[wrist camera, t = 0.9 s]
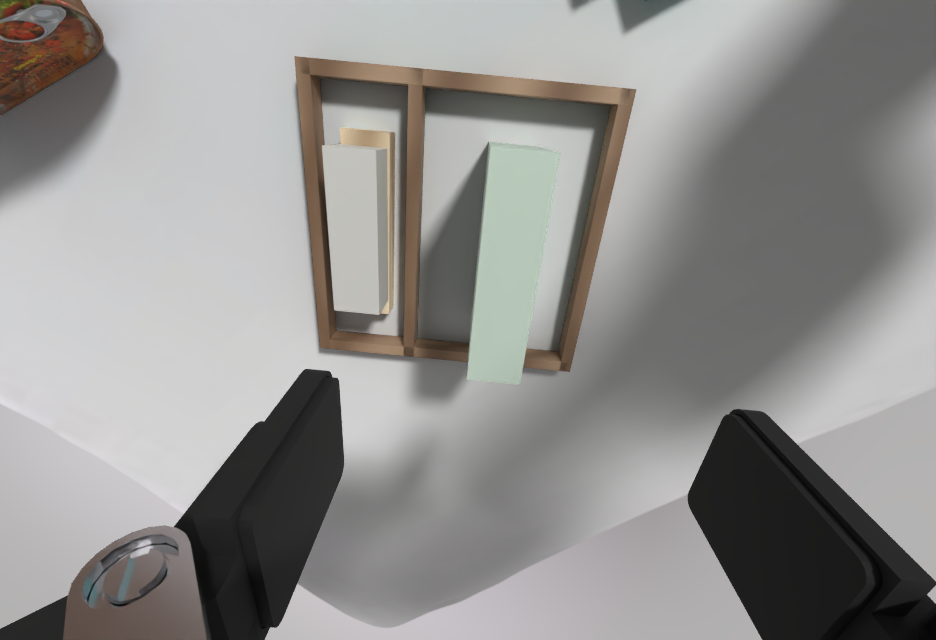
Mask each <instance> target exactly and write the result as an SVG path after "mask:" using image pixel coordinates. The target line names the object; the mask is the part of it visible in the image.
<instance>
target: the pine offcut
mask: <svg viewBox="0 0 936 640" xmlns="http://www.w3.org/2000/svg"><path fill="white" fill-rule="evenodd" d="M340 144H344V145H355V146H366V147H377V148H387V196H388V302H387V303H386V305H385V306H384V308H383V310H382V311H381V313H382V314H389V313H390V311H391V310H392V308H393V303H394V197H395V133H394V132H384V131H374V130H364V129H354V128H340Z"/></svg>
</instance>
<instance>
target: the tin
mask: <svg viewBox="0 0 936 640" xmlns="http://www.w3.org/2000/svg"><path fill="white" fill-rule="evenodd" d="M102 45H103V34H102V31H101V29H100V27H99V26H98V24H97V23H96V22H95V21H94V20H93V18H92V17H91V16H90V14H89V12H88V11H87V9H86V8H85V6H84V4H83V3H82V1H81V0H0V115H1V114H3V113H5V112H7V111H9V110H10V109H12V108H14V107H15V106H17V105H18V104H20V103H22V102H23V101H25V100H27V99H28V98H30V97H32V96H33V95H35V94H36V93H38V92H40V91H41V90H43V89H44V88H46V87H48V86H50V85H51V84H53V83H54V82H56V81H58V80H60V79H61V78H63V77H65V76H66V75H68V74H69V73H71V72H73V71H74V70H76V69H78V68H79V67H81V66H83V65H84V64H86V63H87V62H89V61H90V60H92V59H93V58H94V57H95V56H96V55H97V54H98V53H99V51H100V50H101V48H102Z"/></svg>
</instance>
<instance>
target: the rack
mask: <svg viewBox="0 0 936 640" xmlns="http://www.w3.org/2000/svg"><path fill="white" fill-rule="evenodd" d="M295 67H296V79H297V90H298V102H299V113H300V124H301V136H302V147H303V158H304V170H305V181H306V193H307V204H308V215H309V227H310V238H311V250H312V261H313V272H314V284H315V295H316V307H317V318H318V329H319V341H320V348H327V349H337V350H348V351H358V352H369V353H379V354H390V355H400V356H411V357H421V358H432V359H442V360H453V361H463V362H468V355H469V343H460V342H450V341H440V340H429V339H419V338H417V328H418V299H419V271H420V242H421V214H422V185H423V157H424V128H425V99H426V88H432V89H442V90H452V91H463V92H473V93H483V94H494V95H504V96H514V97H525V98H535V99H545V100H556V101H566V102H576V103H587V104H597V105H607V106H611V108H610V112H609V117H608V122H607V126H606V131H605V136H604V140H603V145H602V149H601V154H600V159H599V163H598V168H597V173H596V177H595V182H594V187H593V191H592V196H591V201H590V205H589V210H588V214H587V219H586V224H585V228H584V233H583V238H582V242H581V247H580V252H579V256H578V261H577V266H576V270H575V275H574V280H573V284H572V289H571V293H570V298H569V303H568V307H567V312H566V317H565V321H564V326H563V331H562V335H561V340H560V345H559V349H558V352H555V351H544V350H534V349H526V353H525V359H524V365H523V367H526V368H536V369H547V370H557V371H568V372H570V368H571V364H572V360H573V355H574V351H575V347H576V343H577V338H578V334H579V330H580V326H581V321H582V317H583V313H584V309H585V305H586V300H587V296H588V292H589V288H590V283H591V279H592V275H593V271H594V266H595V262H596V258H597V254H598V249H599V245H600V241H601V237H602V233H603V228H604V224H605V220H606V216H607V211H608V207H609V203H610V199H611V194H612V190H613V186H614V182H615V178H616V173H617V169H618V165H619V161H620V156H621V152H622V148H623V144H624V139H625V135H626V131H627V127H628V122H629V118H630V114H631V110H632V106H633V101H634V97H635V93H636V89H626V88H616V87H606V86H595V85H585V84H575V83H564V82H554V81H544V80H534V79H523V78H513V77H503V76H492V75H482V74H472V73H461V72H451V71H441V70H430V69H420V68H410V67H399V66H389V65H379V64H368V63H358V62H348V61H337V60H327V59H317V58H306V57H296V56H295ZM320 78H328V79H339V80H349V81H359V82H370V83H380V84H390V85H401V86H408V127H407V183H406V238H405V293H404V337H398V336H387V335H377V334H366V333H356V332H345V331H337V329H336V314H335V310H334V301H333V288H332V274H331V261H330V248H329V234H328V221H327V208H326V194H325V181H324V168H323V154H322V145H324V131H323V115H322V100H321V85H320Z"/></svg>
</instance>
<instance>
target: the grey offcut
mask: <svg viewBox="0 0 936 640" xmlns="http://www.w3.org/2000/svg"><path fill="white" fill-rule="evenodd" d="M322 154H323V168H324V181H325V194H326V208H327V221H328V234H329V248H330V261H331V274H332V288H333V301H334V310H335V311H345V312H355V313H365V314H376V315H379V314H380V313H381V311H382V310H383V308H384V306H385V305H386V303H387V302H388V196H387V148H377V147H366V146H355V145H344V144H332V145H322Z"/></svg>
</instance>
